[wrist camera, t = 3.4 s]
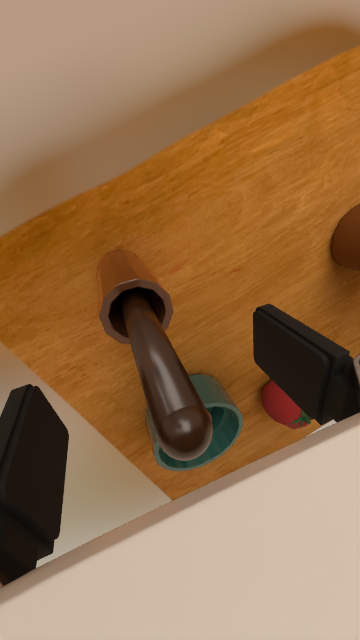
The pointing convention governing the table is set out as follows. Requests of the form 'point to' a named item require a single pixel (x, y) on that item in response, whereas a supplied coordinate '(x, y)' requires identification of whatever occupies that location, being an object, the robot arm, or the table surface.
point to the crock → (123, 274)
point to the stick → (165, 382)
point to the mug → (348, 240)
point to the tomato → (282, 407)
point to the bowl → (223, 420)
